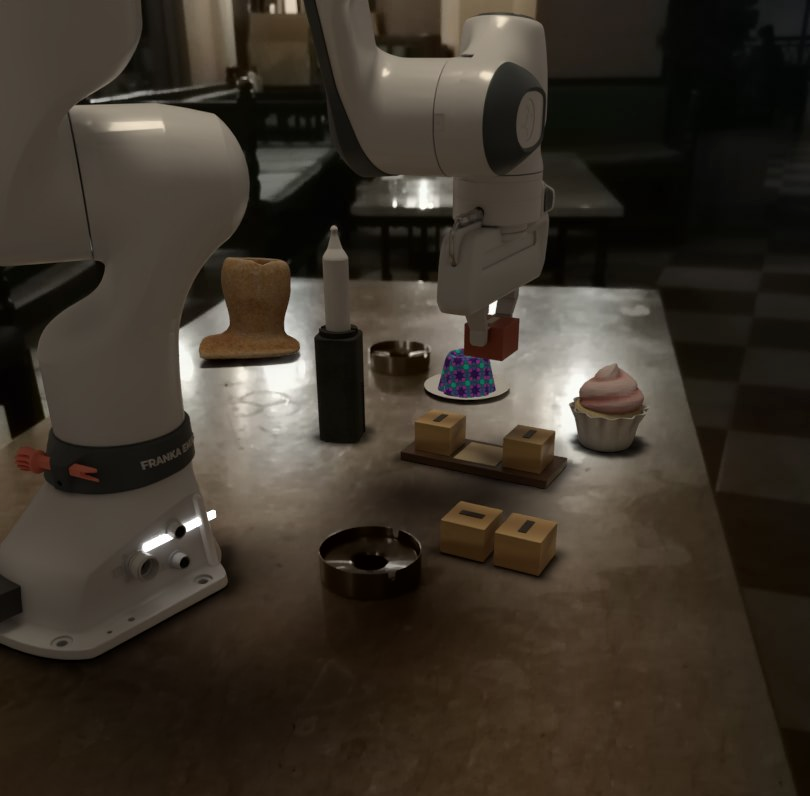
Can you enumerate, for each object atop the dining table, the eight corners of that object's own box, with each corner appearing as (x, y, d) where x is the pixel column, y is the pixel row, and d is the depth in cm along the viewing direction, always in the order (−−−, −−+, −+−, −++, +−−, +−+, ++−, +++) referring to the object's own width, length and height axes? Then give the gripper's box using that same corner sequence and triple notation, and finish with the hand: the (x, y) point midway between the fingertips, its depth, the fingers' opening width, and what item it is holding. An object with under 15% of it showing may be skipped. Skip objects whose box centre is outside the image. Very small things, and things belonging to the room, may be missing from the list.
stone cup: (299, 341, 148) (293, 247, 141) (300, 364, 138) (294, 263, 131) (206, 345, 147) (195, 250, 140) (199, 368, 136) (187, 266, 129)
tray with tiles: (545, 489, 99) (548, 450, 97) (400, 459, 106) (399, 422, 104) (566, 465, 104) (570, 428, 102) (426, 438, 112) (427, 403, 109)
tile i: (483, 562, 85) (484, 528, 83) (440, 551, 87) (440, 518, 85) (501, 542, 88) (503, 509, 87) (459, 532, 90) (460, 499, 89)
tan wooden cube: (538, 576, 83) (541, 541, 81) (492, 565, 85) (494, 531, 83) (555, 554, 86) (557, 521, 84) (511, 544, 88) (512, 511, 86)
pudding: (492, 372, 134) (493, 337, 131) (522, 399, 123) (524, 362, 121) (414, 380, 131) (414, 344, 128) (438, 408, 121) (438, 370, 118)
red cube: (502, 361, 95) (503, 327, 94) (463, 355, 97) (464, 322, 95) (518, 349, 99) (520, 317, 97) (480, 344, 101) (481, 312, 99)
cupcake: (624, 464, 104) (634, 381, 99) (552, 446, 109) (558, 365, 104) (657, 439, 111) (668, 360, 106) (588, 423, 116) (596, 346, 111)
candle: (357, 443, 110) (350, 230, 98) (317, 440, 111) (305, 229, 99) (367, 428, 115) (361, 222, 103) (328, 425, 116) (318, 221, 104)
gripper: (483, 220, 81) (478, 369, 88) (561, 189, 97) (551, 318, 104) (420, 214, 84) (420, 359, 91) (506, 186, 100) (500, 311, 106)
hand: (491, 337), depth 97 cm, fingers closed on red cube, 4 cm apart
